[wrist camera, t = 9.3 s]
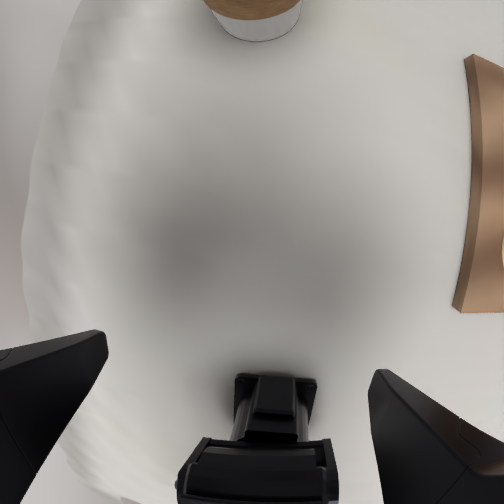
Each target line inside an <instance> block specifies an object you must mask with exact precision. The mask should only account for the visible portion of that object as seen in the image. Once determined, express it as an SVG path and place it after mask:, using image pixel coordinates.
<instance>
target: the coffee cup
mask: <svg viewBox="0 0 504 504" xmlns="http://www.w3.org/2000/svg"><path fill="white" fill-rule="evenodd" d="M204 2H205V3H206V4H207V5H208V6H209V8H210V9H211V10H212V12H213V13H214V15H215V16H216V18H217V19H218V21H219V22H220V24H221V25H222V26H223V28H224V29H225V30H226V31H227V32H228V33H229V34H231V35H233V36H235V37H237V38H240V39H243V40H247V41H266V40H271V39H275V38H278V37H280V36H282V35H284V34H285V33H287V32H288V31H290V30H291V29H292V28H293V27H294V26H295V24H296V22H297V21H298V17H299V14H300V9H301V4H302V0H204Z"/></svg>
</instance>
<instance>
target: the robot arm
mask: <svg viewBox="0 0 504 504" xmlns="http://www.w3.org/2000/svg"><path fill="white" fill-rule="evenodd" d="M108 354H109V352H108V346H107V339H106V335H105V333H104V332H103V331H99V330H95V329H94V330H89V331H85V332H81V333H77V334H73V335H68V336H64V337H60V338H55V339H51V340H47V341H42V342H38V343H33V344H29V345H24V346H19V347H14V348H10V349H5V350H0V504H20V502H21V501H22V499H23V497H24V495H25V494H26V492H27V490H28V488H29V486H30V485H31V483H32V481H33V479H34V478H35V476H36V473H38V471H39V469H40V468H41V466H42V464H43V463H44V461H45V459H46V458H47V456H48V455H49V453H50V451H51V450H52V448H53V446H54V445H55V443H56V442H57V440H58V439H59V437H60V435H61V434H62V432H63V431H64V429H65V428H66V426H67V425H68V423H69V422H70V420H71V419H72V417H73V415H74V414H75V412H76V411H77V409H78V408H79V406H80V405H81V403H82V402H83V400H84V399H85V398H86V396H87V395H88V393H89V391H90V390H91V388H92V386H93V385H94V383H95V381H96V379H97V377H98V375H99V373H100V372H101V370H102V368H103V366H104V364H105V362H106V360H107V358H108ZM239 379H243V380H244V381H240V380H239ZM309 385H313V386H312V387H309ZM316 390H317V382H316V381H315V380H312V379H294V378H284V377H272V376H259V375H249V374H238V375H237V376H236V379H235V394H234V426H233V430H232V434H231V438H230V441H227V440H214V439H211V438H206V437H203V438H202V440H201V441H200V443H199V444H198V445H197V447H196V448H195V450H194V451H193V452H192V454H191V455H190V457H189V458H188V460H187V461H186V462H185V464H184V465H183V467H182V468H181V469H180V471H179V472H178V479H177V480H176V482H175V488H176V490H177V501H178V504H338V501H339V480H338V471H337V466H336V462H335V457H334V452H333V448H332V444H331V439H330V438H329V439H322V440H320V441H309V439H308V424H309V420H310V416H311V412H312V408H313V403H314V399H315V395H316ZM368 402H369V413H370V424H371V434H372V440H373V445H374V450H375V455H376V460H377V465H378V471H379V476H380V482H381V488H382V494H383V501H384V504H504V443H503V442H501V441H499V440H498V439H496V438H494V437H492V436H490V435H488V434H486V433H484V432H483V431H481V430H479V429H477V428H476V427H474V426H473V425H471V424H469V423H468V422H466V421H465V420H463V419H462V418H460V419H459V416H457V415H456V414H454V413H452V412H451V411H449V410H448V409H446V408H445V407H443V406H442V405H440V404H439V403H437V402H436V401H434V400H433V399H431V398H430V397H428V396H427V395H425V394H424V393H422V392H421V391H419V390H418V389H417V388H415V387H414V386H412V385H411V384H409V383H408V382H406V381H405V380H403V379H402V378H400V377H399V376H397V375H396V374H394V373H393V372H391V371H390V370H388V369H377V370H376V371H375V373H374V375H373V378H372V381H371V384H370V387H369V390H368Z"/></svg>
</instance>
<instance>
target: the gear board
mask: <svg viewBox="0 0 504 504" xmlns="http://www.w3.org/2000/svg"><path fill="white" fill-rule="evenodd" d="M464 61H465V67H466V73H467V81H468V89H469V99H470V110H471V128H472V176H471V194H470V206H469V216H468V225H467V232H466V239H465V246H464V252H463V258H462V263H461V269H460V274H459V278H458V283H457V287H456V292H455V296H454V300H453V304H452V306H453V307H454V308H455V309H456V310H457V311H459V312H460V313H501V312H504V68H502V67H500V66H498V65H496V64H494V63H492V62H490V61H488V60H486V59H484V58H481V57H479V56H477V55H475V54H472V55H470V56H469V57H467V58H466V59H464Z"/></svg>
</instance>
